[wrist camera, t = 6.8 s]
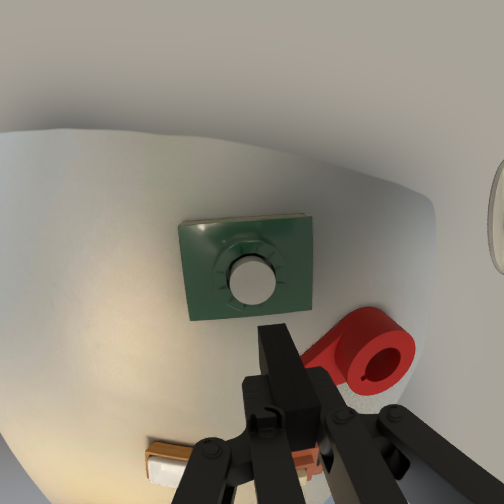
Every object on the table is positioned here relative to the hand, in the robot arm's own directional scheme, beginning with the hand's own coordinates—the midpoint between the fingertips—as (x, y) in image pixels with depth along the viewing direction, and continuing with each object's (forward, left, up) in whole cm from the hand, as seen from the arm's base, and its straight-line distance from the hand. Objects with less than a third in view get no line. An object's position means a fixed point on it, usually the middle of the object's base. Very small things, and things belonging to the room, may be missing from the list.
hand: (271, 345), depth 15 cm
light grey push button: (0, 0, -12) cm, 12 cm away
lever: (-11, +14, -17) cm, 24 cm away
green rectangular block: (0, 0, -16) cm, 16 cm away
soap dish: (+13, +34, -17) cm, 40 cm away
